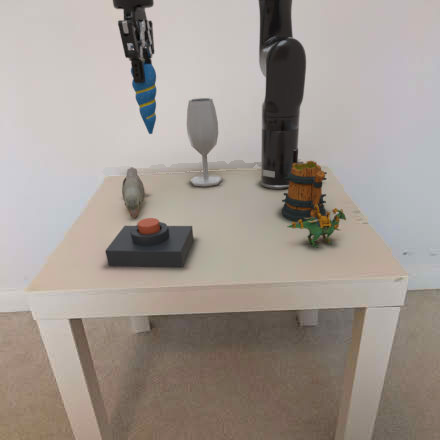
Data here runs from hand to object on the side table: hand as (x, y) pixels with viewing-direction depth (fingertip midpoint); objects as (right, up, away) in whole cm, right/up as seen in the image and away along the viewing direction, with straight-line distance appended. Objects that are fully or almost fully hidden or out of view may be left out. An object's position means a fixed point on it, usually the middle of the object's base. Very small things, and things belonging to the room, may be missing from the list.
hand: (144, 80), depth 82 cm
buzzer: (+3, -36, -5) cm, 36 cm away
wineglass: (+12, -13, +29) cm, 34 cm away
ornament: (0, -9, +6) cm, 11 cm away
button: (+2, -32, -7) cm, 33 cm away
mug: (+35, -27, +6) cm, 44 cm away
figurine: (+34, -35, -5) cm, 49 cm away
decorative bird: (-5, -23, +17) cm, 28 cm away
